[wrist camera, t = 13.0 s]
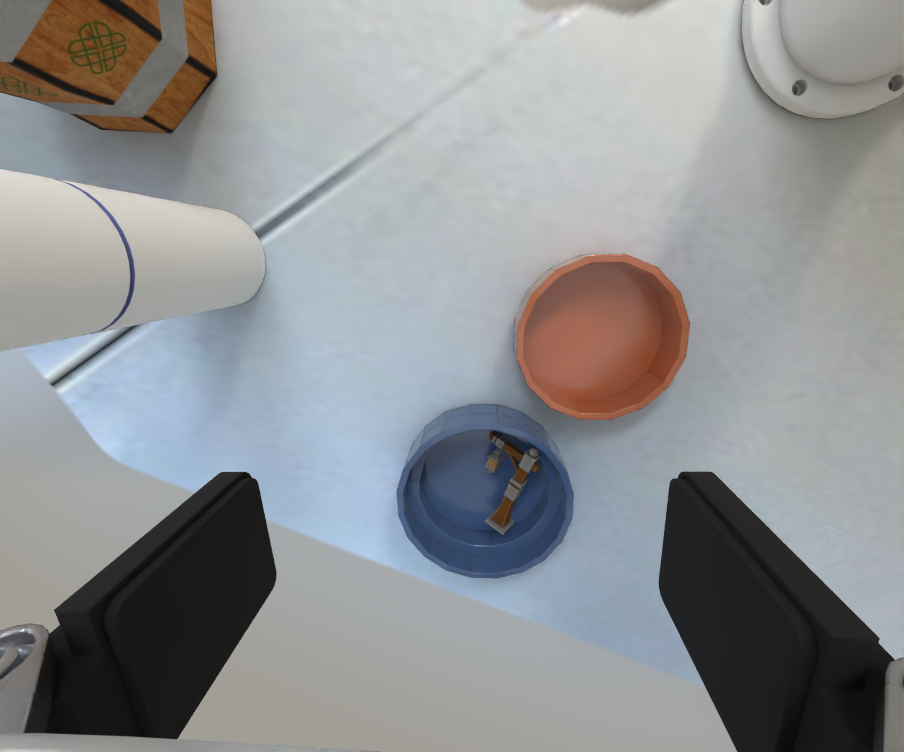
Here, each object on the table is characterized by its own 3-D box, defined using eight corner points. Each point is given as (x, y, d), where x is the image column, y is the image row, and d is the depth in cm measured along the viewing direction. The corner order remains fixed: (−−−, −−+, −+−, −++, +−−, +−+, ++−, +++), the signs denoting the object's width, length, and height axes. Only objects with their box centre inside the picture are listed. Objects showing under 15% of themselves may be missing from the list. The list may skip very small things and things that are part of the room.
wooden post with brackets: (501, 419, 33) (550, 450, 31) (472, 493, 37) (515, 525, 35) (489, 426, 32) (540, 459, 30) (461, 502, 35) (504, 536, 33)
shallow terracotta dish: (677, 253, 30) (700, 252, 26) (659, 405, 33) (677, 420, 30) (514, 256, 30) (518, 256, 27) (512, 404, 33) (515, 419, 30)
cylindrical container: (270, 307, 33) (-319, 446, 9) (182, 305, 33) (-617, 433, 9) (259, 209, 31) (-542, 32, 7) (166, 208, 31) (-907, 40, 7)
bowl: (565, 402, 33) (578, 424, 29) (558, 542, 37) (568, 580, 32) (403, 402, 34) (391, 423, 30) (410, 539, 37) (402, 575, 33)
